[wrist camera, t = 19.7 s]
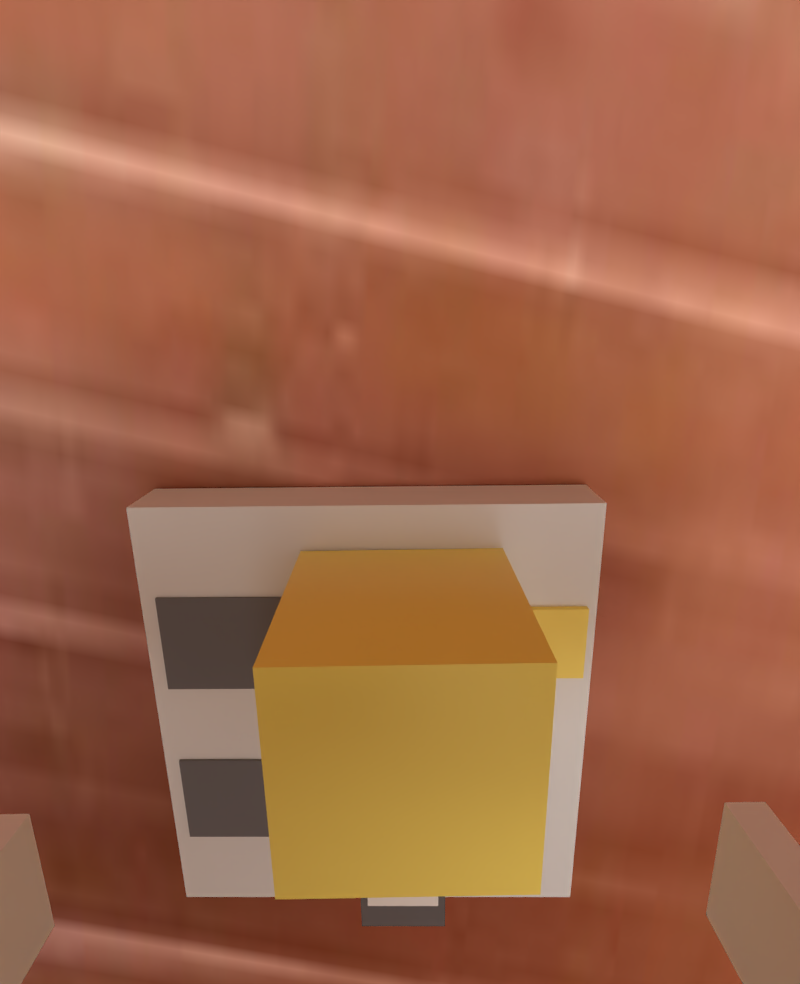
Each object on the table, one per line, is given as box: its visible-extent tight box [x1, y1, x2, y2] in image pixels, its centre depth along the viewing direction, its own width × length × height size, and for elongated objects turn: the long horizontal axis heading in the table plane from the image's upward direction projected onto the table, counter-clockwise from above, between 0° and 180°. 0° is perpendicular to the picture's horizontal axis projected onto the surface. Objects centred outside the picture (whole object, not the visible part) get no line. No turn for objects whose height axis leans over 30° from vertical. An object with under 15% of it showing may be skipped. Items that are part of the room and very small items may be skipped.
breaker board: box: [126, 485, 607, 897], centre depth 20 cm, size 14×15×2 cm
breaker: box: [361, 896, 445, 926], centre depth 18 cm, size 2×2×3 cm
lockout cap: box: [253, 548, 558, 899], centre depth 15 cm, size 6×6×6 cm
